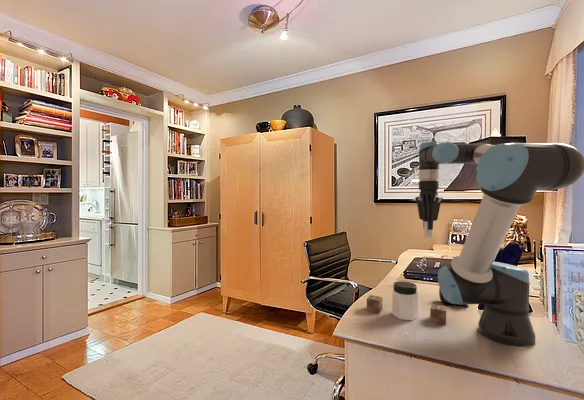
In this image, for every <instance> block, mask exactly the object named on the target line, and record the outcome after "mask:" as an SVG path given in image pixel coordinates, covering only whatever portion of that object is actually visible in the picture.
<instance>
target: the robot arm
mask: <svg viewBox="0 0 584 400" xmlns="http://www.w3.org/2000/svg"><path fill="white" fill-rule="evenodd" d="M418 146H419V149H418V180H419V181H418V190H419V191H420V193H419V195H418V196H415V197H414V198H415V201H416V204H417V205H416V206H417V211H418V219H419V220H421V221H422V222H423V223H422V226H423V237H424V238H426V239H427V238H428V239H429V238H433V229H434V222H435V221H438V218H439V214H440V213H439V212H440V210H441V204H442V202H443V199H444V198H443V197H442V196H441V197H440V196H439V193H438V190H439V187H440V186H439V185H440V184H439V183H440V182H439V180H440V179H439V177H440V172H439V170H440V165H445V164H446V165H455V164H456V165H457V164H458V165H461V164H466V165H467V164H469V165H472V164H473V165H477V166H476V169H475V172H476V173H477V174H476V175H475V179H476V181H477V184H478V186H479V190H480V192H481V194H483V196H482V198H481V201H480V203H479V206H478V208H477V210H476V214H475V216H474V219H473V221H472V224H471V226H470V229H469V230H468V234H467V236H466V239H465V240H464V243H463V246H462V248H461V252H460V253H459V255H456V256H455V257H453V258H452V259H451V261H450V263H449V265H448V266H442V267H440V268H439V269H438V272H437V282H438V288H440V290H441V293H442V295H443V297H444V298H445V299H446V300H447V301H448V302H449V303H452V304H460V305H462V304H468V305H484V308H483V310H482V312H481V315H480V318H479V320H478V325H477V329H478V331H479V333H480V334H481V335H483V336H484V337H486V338H488V339H490V340H492V341H494V342H497V343H500V344H503V345H508V346H516V347H531V346H533V345H535V344H536V332H535V331H534V328H533V325H532V322H531V318H530V316H529V315H530V313H529V312H530V311H529V310H530V309H529V308H530V307H529V306H530V303H529V302H530V285H531V283H530V282H531V281H530V274H529V273H530V272H528V270H526V269H525V268H523V267H520V266H516V265H513V264H509V263H504V262H500V261H495V260H496V257H497V255H498V254H499V252H500V249H501V247H502V245H503V243H504V241H505V239H506V236H507V235H508V233H509V231H510V229H511V226H512V224H513V222H514V220H515V218H516V216H517V214H518V213H519V210H520V209H521V206H525V205H528V204H530V203H531V202H532V200H533V198H534V196H535V195H536V192H537V191H554V190H560V189H561V190H562V189H564V188H567V187H569V186H571V185H573V184H575V183H576V182H577V181H578V180H579V179H580V178H581V177H582V176H583V174H584V155H583V153H581V151H580V150H579V149H577V148H576V147H574V146H571V145H570V144H566V143H559V142H549V143H547V142H546V143H545V142H544V143H543V142H542V143H541V142H538V143H537V142H536V143H535V142H533V143H532V142H529V143H527V142H508V143H497V144H490V143H482V142H479V143H453V142H451V141H445V142H441V143H439V142H437V141H426V142H421V143H420V144H419V145H418Z"/></svg>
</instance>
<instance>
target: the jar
mask: <svg viewBox="0 0 584 400" xmlns="http://www.w3.org/2000/svg"><path fill="white" fill-rule="evenodd" d="M392 287H393V289H392V304H391V305H392V307H391V308H392V316H394V317H396V318H397V319H399V320H400V321H401V320H402V321H414V320H416V319H417V317H418V312H419V311H418V310H419V309H418V307H419V305H418V304H419V302H418V301H419V300H418V299H419V297H418V296H419V295H418V294H419V293H418V291H417V289H418V287H417V285H416V283H413V282H410V281H400V280H399V281H396V282H393V286H392Z"/></svg>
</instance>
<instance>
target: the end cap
mask: <svg viewBox="0 0 584 400" xmlns="http://www.w3.org/2000/svg"><path fill="white" fill-rule="evenodd" d="M438 288H439V290H438V296H439V299H440V301H441V303H442V304H443V306H446V307H456V308H469V304H462V305H460V304H452V303H449V302H448V301H447V300H446V299H445V298H444V297H443V295H442V293H441V290H440V287H438Z"/></svg>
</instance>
